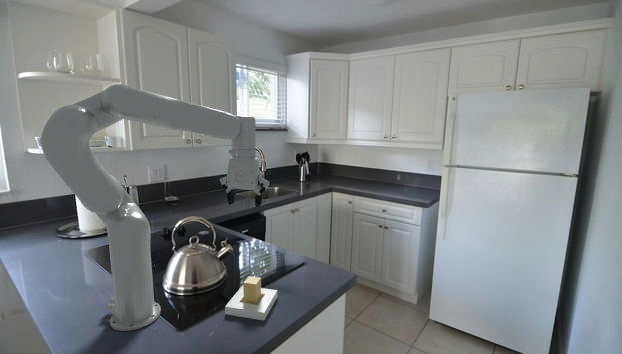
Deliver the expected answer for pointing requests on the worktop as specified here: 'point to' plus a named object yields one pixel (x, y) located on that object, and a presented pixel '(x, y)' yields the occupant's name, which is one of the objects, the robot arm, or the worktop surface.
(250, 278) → the plug block
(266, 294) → the socket housing
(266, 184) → the robot arm
